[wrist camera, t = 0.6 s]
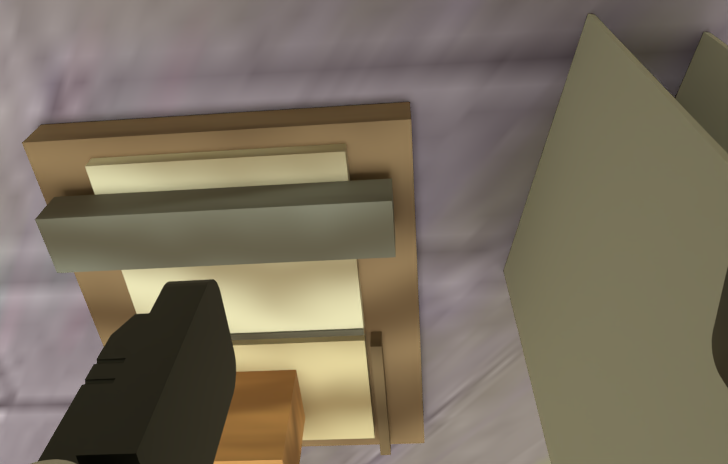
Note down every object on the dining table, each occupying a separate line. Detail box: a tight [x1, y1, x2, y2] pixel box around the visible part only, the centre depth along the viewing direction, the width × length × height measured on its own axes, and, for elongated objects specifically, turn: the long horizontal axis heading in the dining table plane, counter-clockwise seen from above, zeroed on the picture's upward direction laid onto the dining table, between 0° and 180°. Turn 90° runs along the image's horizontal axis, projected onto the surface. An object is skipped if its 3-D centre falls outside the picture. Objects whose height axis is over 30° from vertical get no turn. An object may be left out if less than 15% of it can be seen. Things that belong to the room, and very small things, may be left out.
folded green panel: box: [504, 14, 728, 464], centre depth 20 cm, size 14×6×30 cm, turn 172°
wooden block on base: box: [213, 330, 375, 464], centre depth 36 cm, size 8×12×7 cm, turn 94°
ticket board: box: [22, 102, 424, 455], centre depth 36 cm, size 22×18×5 cm
